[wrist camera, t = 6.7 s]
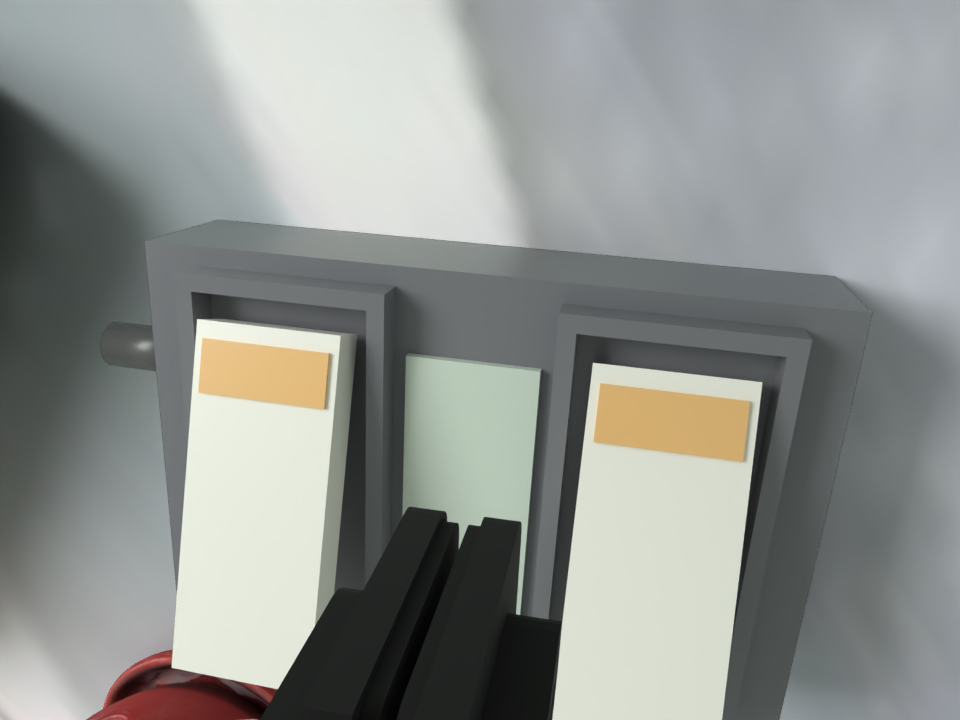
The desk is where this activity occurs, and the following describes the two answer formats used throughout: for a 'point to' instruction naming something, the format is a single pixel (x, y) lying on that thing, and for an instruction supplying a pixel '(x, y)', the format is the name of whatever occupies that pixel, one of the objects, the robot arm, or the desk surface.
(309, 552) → the plate
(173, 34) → the desk surface
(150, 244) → the panel
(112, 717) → the plant pot
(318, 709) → the robot arm
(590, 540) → the rocker
